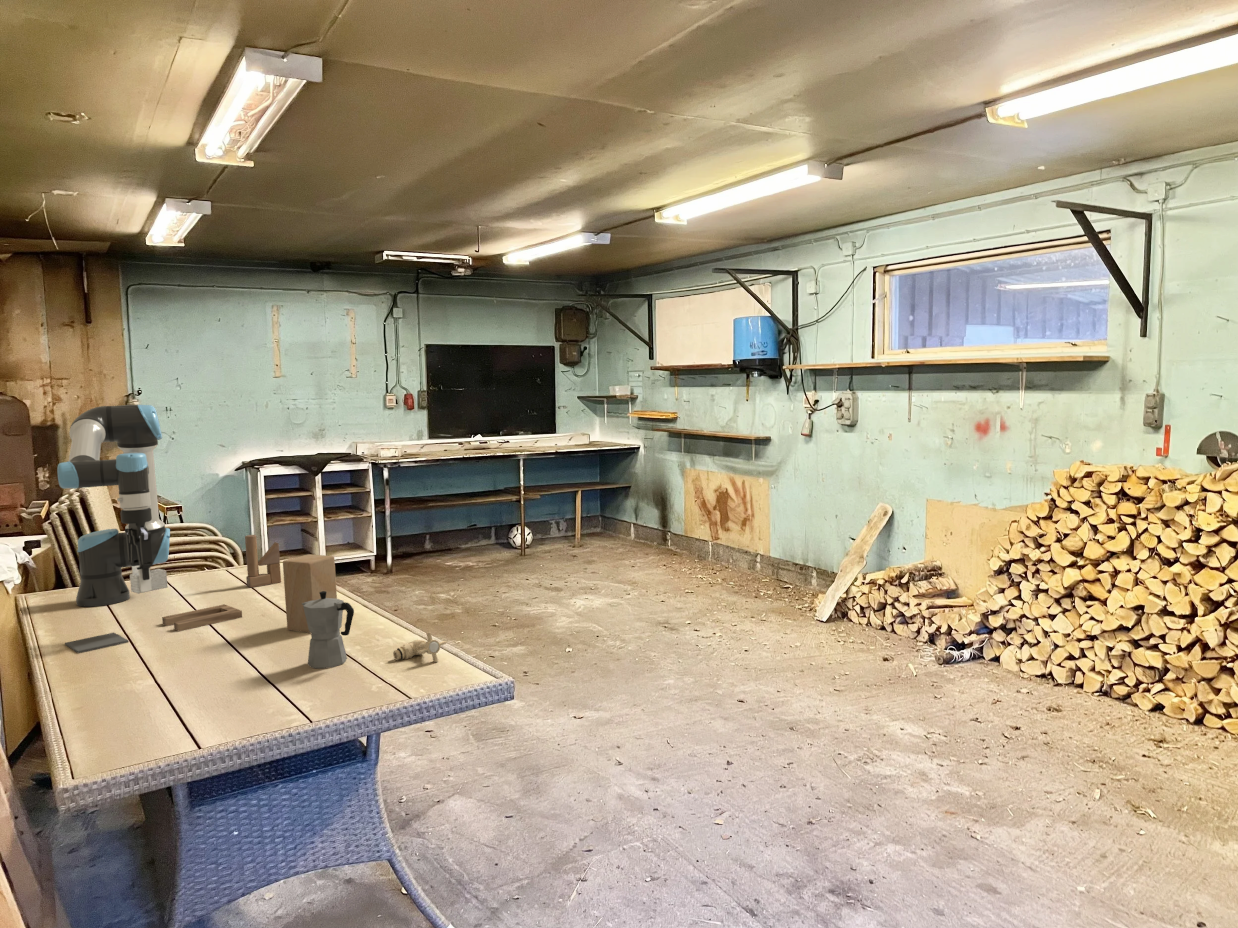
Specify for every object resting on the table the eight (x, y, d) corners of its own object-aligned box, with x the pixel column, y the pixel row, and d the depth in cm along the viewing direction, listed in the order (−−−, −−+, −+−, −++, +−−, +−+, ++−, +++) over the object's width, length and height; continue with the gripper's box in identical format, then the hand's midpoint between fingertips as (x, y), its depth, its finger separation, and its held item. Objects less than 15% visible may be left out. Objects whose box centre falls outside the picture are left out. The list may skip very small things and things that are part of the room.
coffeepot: (292, 666, 206) (287, 594, 204) (319, 654, 215) (315, 585, 213) (343, 672, 200) (338, 598, 199) (369, 659, 209) (364, 588, 207)
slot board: (162, 623, 249) (162, 617, 248) (224, 610, 262) (224, 604, 262) (178, 631, 240) (178, 624, 240) (242, 617, 253) (241, 610, 253)
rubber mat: (65, 644, 230) (64, 642, 230) (113, 634, 239) (113, 632, 239) (78, 653, 222) (78, 651, 222) (128, 642, 231) (128, 640, 231)
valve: (451, 656, 208) (415, 670, 201) (428, 656, 217) (392, 670, 211) (443, 626, 208) (407, 640, 201) (420, 628, 217) (385, 640, 211)
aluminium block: (131, 591, 238) (129, 574, 238) (160, 585, 244) (159, 568, 244) (138, 593, 235) (136, 576, 235) (167, 587, 242) (166, 570, 241)
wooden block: (339, 624, 242) (334, 555, 241) (313, 633, 233) (308, 562, 232) (313, 620, 247) (308, 553, 245) (286, 630, 238) (281, 560, 236)
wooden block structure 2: (281, 582, 299) (278, 532, 297) (250, 588, 291) (246, 536, 290) (277, 580, 301) (274, 531, 300) (246, 586, 294) (242, 535, 292)
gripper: (110, 507, 239) (117, 587, 242) (131, 512, 228) (139, 596, 230) (139, 504, 245) (145, 582, 247) (161, 508, 233) (168, 591, 235)
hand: (142, 589), depth 238 cm, fingers closed on aluminium block, 5 cm apart
